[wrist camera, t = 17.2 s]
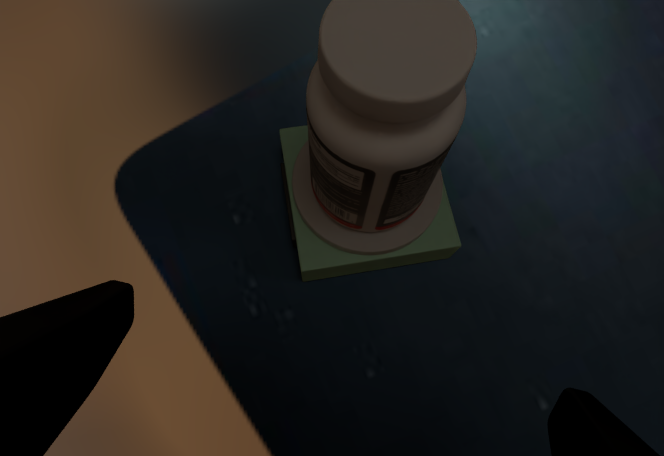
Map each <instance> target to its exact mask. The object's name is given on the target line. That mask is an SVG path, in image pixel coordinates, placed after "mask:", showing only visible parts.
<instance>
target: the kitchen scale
mask: <svg viewBox="0 0 664 456" xmlns="http://www.w3.org/2000/svg"><path fill="white" fill-rule="evenodd" d="M279 132H280V138H281V145H282V151H283V158H284V163H281V169H282V176H283V183H284V189H285V196H286V203H287V209H288V216H289V223H290V229H291V236H292V242H293V247H297V249H298V255H299V262H300V268H301V275H302V281H303V282H305V281H311V280H317V279H323V278H330V277H336V276H342V275H348V274H354V273H360V272H366V271H373V270H379V269H385V268H391V267H397V266H403V265H409V264H415V263H422V262H428V261H434V260H440V259H446V258H450V257H451V256H452V255H453V254H454V253H455V252H456V251H457V250H458V249H459V248H460V247H461V243H460V239H459V235H458V232H457V228H456V225H455V221H454V218H453V214H452V211H451V207H450V204H449V200H448V196H447V193H446V189H445V186H444V182H443V179H442V174H441V169H439V171H438V173H437V175H436V176H435V178H434V180H433V182H432V184H431V186H430V188H429V190H428V192H427V194H426V196H425V198H424V200H423V202H422V203H421V205H420V206H419V208H418V209H417V210H416V212H415V213H414V214H413V215H412V216H411V217H410V218H409V219H407V220H406V221H405V222H403V223H402V224H400V225H398V226H396V227H393V228H391V229H388V230H384V231H378V232H363V231H357V230H353V229H350V228H347V227H345V226H343V225H341V224H339V223H337V222H336V221H334V220H333V219H332V218H330V217H329V216H328V215H327V214H326V213H325V212H324V211H323V209H322V208H321V207H320V205H319V203H318V202H317V200H316V198H315V195H314V193H313V189H312V185H311V176H310V156H309V140H308V125H307V126H299V127H292V128H284V129H280V130H279Z"/></svg>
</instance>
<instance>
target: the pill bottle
mask: <svg viewBox="0 0 664 456" xmlns="http://www.w3.org/2000/svg"><path fill="white" fill-rule="evenodd" d="M476 49H477V37H476V31H475V28H474V25H473V22H472V20H471V18H470V16H469V14H468V12H467V11H466V10H465V8H464V7H463V6H462V5H461V4H460V2H459V1H458V0H332V1H331V3H330V4H329V5H328V7H327V9H326V10H325V13H324V15H323V17H322V20H321V24H320V29H319V45H318V60H317V62H316V64H315V65H314V67H313V69H312V71H311V74H310V77H309V80H308V85H307V94H306V111H307V124H308V140H309V156H310V176H311V185H312V189H313V193H314V195H315V198H316V200H317V202H318V203H319V205H320V207H321V208H322V209H323V211H324V212H325V213H326V214H327V215H328V216H329V217H330V218H332V219H333V220H334V221H336V222H337V223H339V224H341V225H343V226H345V227H347V228H350V229H353V230H357V231H363V232H378V231H384V230H388V229H391V228H393V227H396V226H398V225H400V224H402V223H403V222H405V221H406V220H407V219H409V218H410V217H411V216H412V215H413V214H414V213H415V212H416V210H417V209H418V208H419V206H420V205H421V203H422V202H423V200H424V198H425V196H426V194H427V192H428V190H429V188H430V186H431V184H432V182H433V180H434V178H435V176H436V175H437V173H438V171H439V169H440V167H441V165H442V163H443V161H444V159H445V157H446V155H447V153H448V151H449V150H450V148H451V146H452V144H453V142H454V140H455V138H456V136H457V134H458V132H459V129H460V127H461V125H462V122H463V119H464V115H465V109H466V91H465V82H466V79H467V77H468V74H469V72H470V70H471V67H472V65H473V62H474V59H475V55H476Z"/></svg>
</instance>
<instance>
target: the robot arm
mask: <svg viewBox="0 0 664 456" xmlns="http://www.w3.org/2000/svg"><path fill="white" fill-rule="evenodd" d="M133 319H134V291H133V287H132V285H130V284H129V283H124V282H120V281H116V280H111V281H108V282H105V283H102V284H99V285H96V286H93V287H90V288H87V289H84V290H81V291H78V292H75V293H72V294H69V295H66V296H63V297H60V298H57V299H54V300H51V301H48V302H45V303H42V304H39V305H36V306H33V307H30V308H27V309H24V310H21V311H18V312H15V313H12V314H9V315H6V316H3V317H0V456H43V455H44V454H45V453H46V451H47V450H48V448H49V447H50V446H51V445H52V443H53V442H54V441H55V439H56V438H57V437H58V435H59V434H60V433H61V432H62V430H63V429H64V428H65V426H66V425H67V424H68V422H69V421H70V420H71V418H72V417H73V416H74V414H75V413H76V412H77V410H78V409H79V408H80V406H81V405H82V404H83V402H84V401H85V400H86V398H87V397H88V396H89V394H90V393H91V391H92V390H93V389H94V387H95V386H96V384H97V382H98V381H99V379H100V378H101V376H102V374H103V373H104V371H105V369H106V367H107V366H108V364H109V363H110V361H111V359H112V358H113V356H114V354H115V353H116V351H117V349H118V348H119V346H120V344H121V343H122V341H123V339H124V338H125V336H126V334H127V333H128V331H129V329H130V328H131V326H132V323H133ZM548 434H549V441H550V447H551V454H552V456H660V455H659V454H657V453H656V452H655V451H654V450H653V449H652V448H651V447H650V446H649V445H647V444H646V443H645V442H644V441H643V440H642V439H641V438H640V437H638V436H637V435H636V434H635V433H634V432H633V431H632V430H631V429H630V428H628V427H627V426H626V425H625V424H624V423H623V422H622V421H621V420H619V419H618V418H617V417H616V416H615V415H614V414H613V413H612V412H610V411H609V410H608V409H607V408H606V407H605V406H604V405H603V404H602V403H600V402H599V401H598V400H597V399H596V398H595V397H594V396H593V395H591V394H590V393H588V392H586V391H582V390H578V389H574V388H566V389H565V390H563V392H562V393H561V395H560V397H559V399H558V401H557V402H556V404H555V406H554V408H553V410H552V412H551V413H550V416H549V419H548Z"/></svg>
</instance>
